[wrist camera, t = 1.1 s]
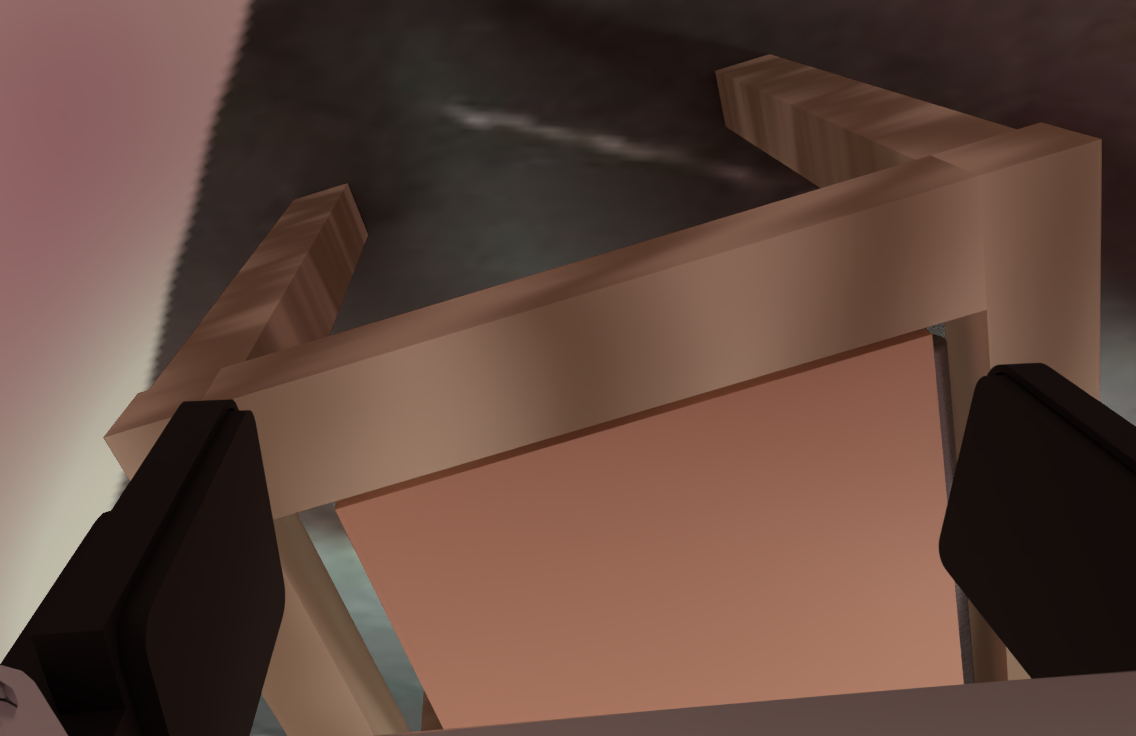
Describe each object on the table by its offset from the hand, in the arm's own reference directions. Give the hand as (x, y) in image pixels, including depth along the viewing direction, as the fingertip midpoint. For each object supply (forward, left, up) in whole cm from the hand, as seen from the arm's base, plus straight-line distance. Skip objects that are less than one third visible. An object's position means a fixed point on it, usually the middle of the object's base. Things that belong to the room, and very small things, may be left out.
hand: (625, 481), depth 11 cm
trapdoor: (-1, +11, -8) cm, 13 cm away
